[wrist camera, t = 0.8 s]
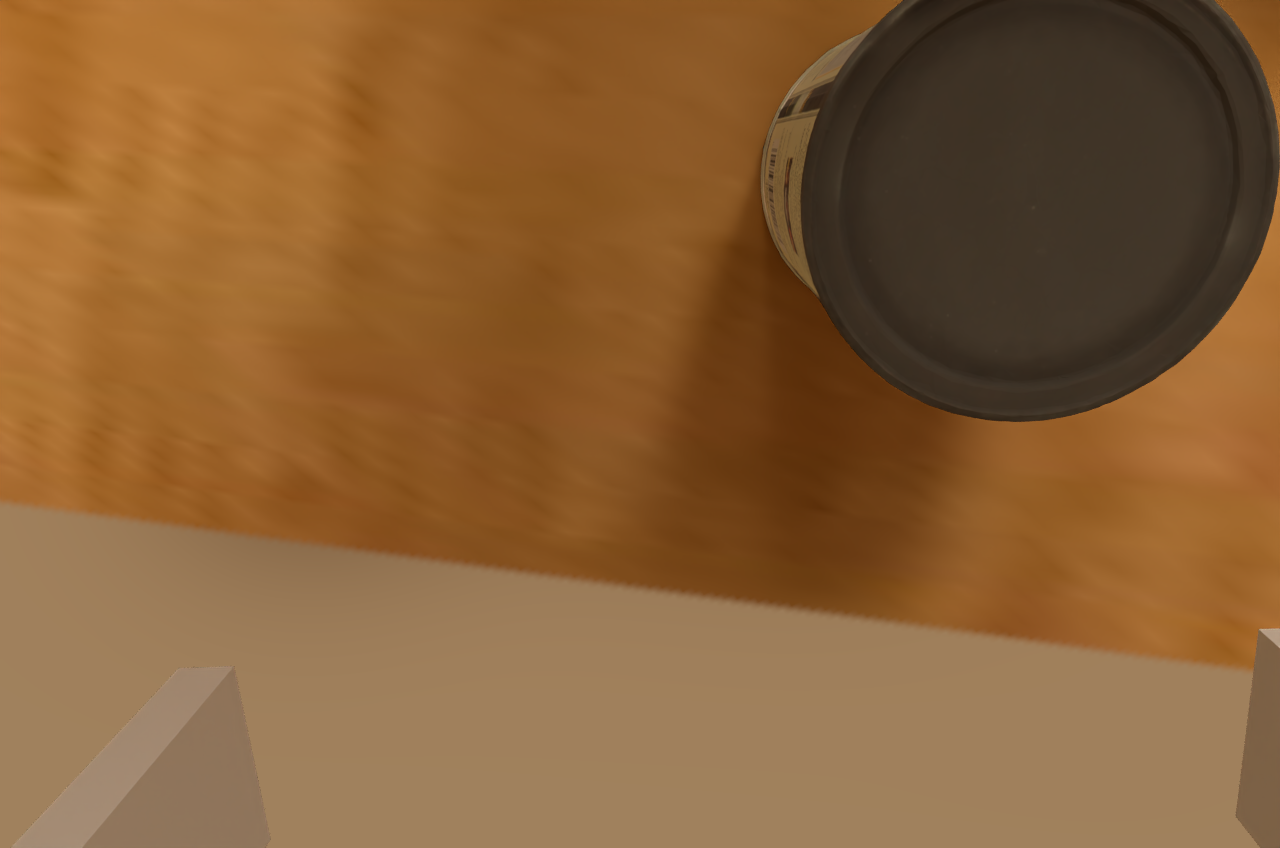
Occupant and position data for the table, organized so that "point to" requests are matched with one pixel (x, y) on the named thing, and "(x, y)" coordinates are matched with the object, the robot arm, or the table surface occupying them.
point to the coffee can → (1026, 194)
